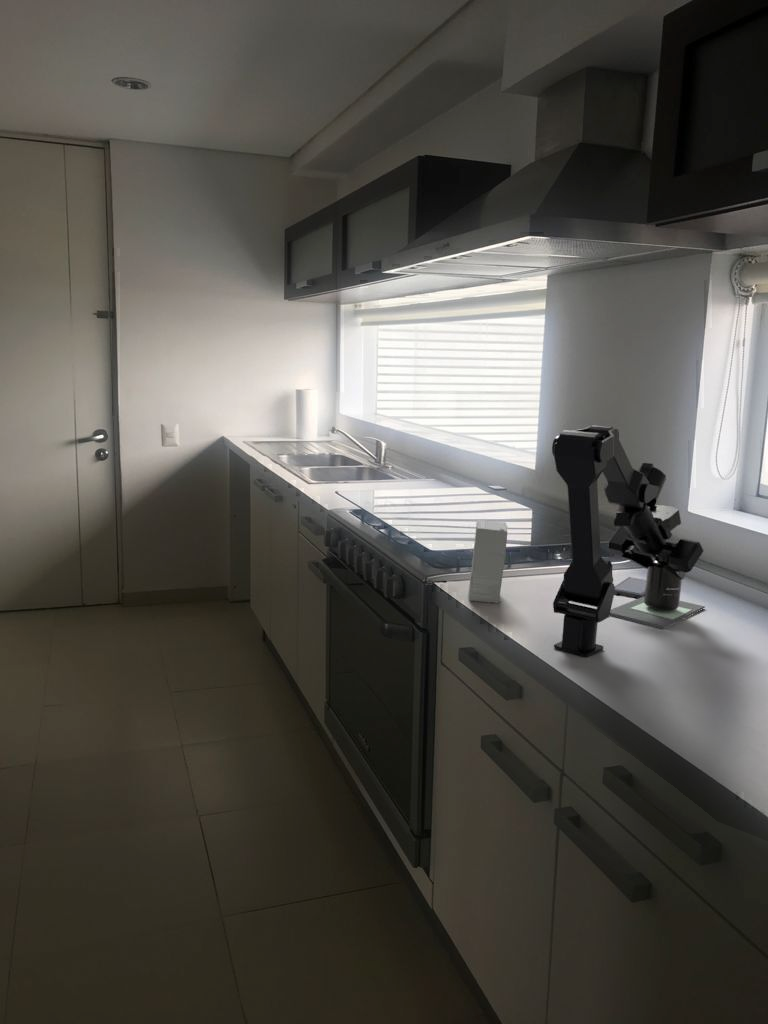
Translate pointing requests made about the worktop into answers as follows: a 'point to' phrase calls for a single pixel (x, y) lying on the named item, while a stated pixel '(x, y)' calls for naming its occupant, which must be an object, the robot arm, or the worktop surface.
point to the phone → (631, 587)
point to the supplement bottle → (662, 585)
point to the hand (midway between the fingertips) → (668, 573)
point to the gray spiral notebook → (654, 613)
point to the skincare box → (488, 561)
